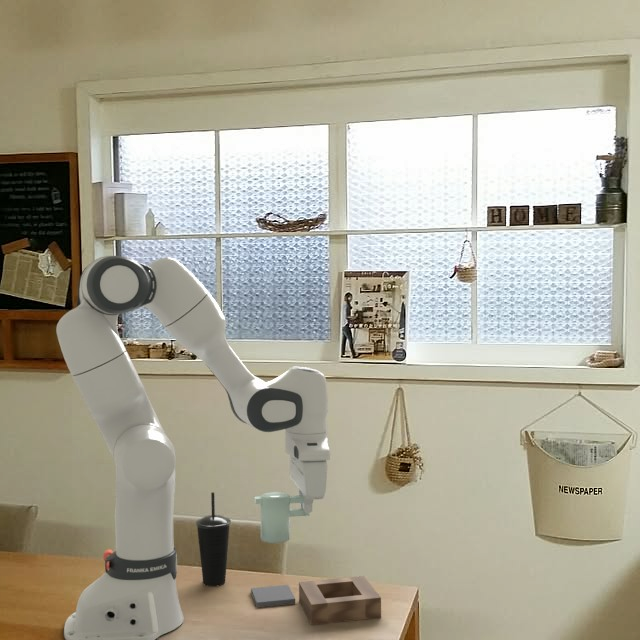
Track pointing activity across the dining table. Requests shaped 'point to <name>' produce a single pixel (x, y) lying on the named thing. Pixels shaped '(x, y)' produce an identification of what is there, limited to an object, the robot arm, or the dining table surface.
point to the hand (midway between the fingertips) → (305, 509)
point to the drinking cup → (213, 546)
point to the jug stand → (339, 600)
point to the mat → (272, 595)
